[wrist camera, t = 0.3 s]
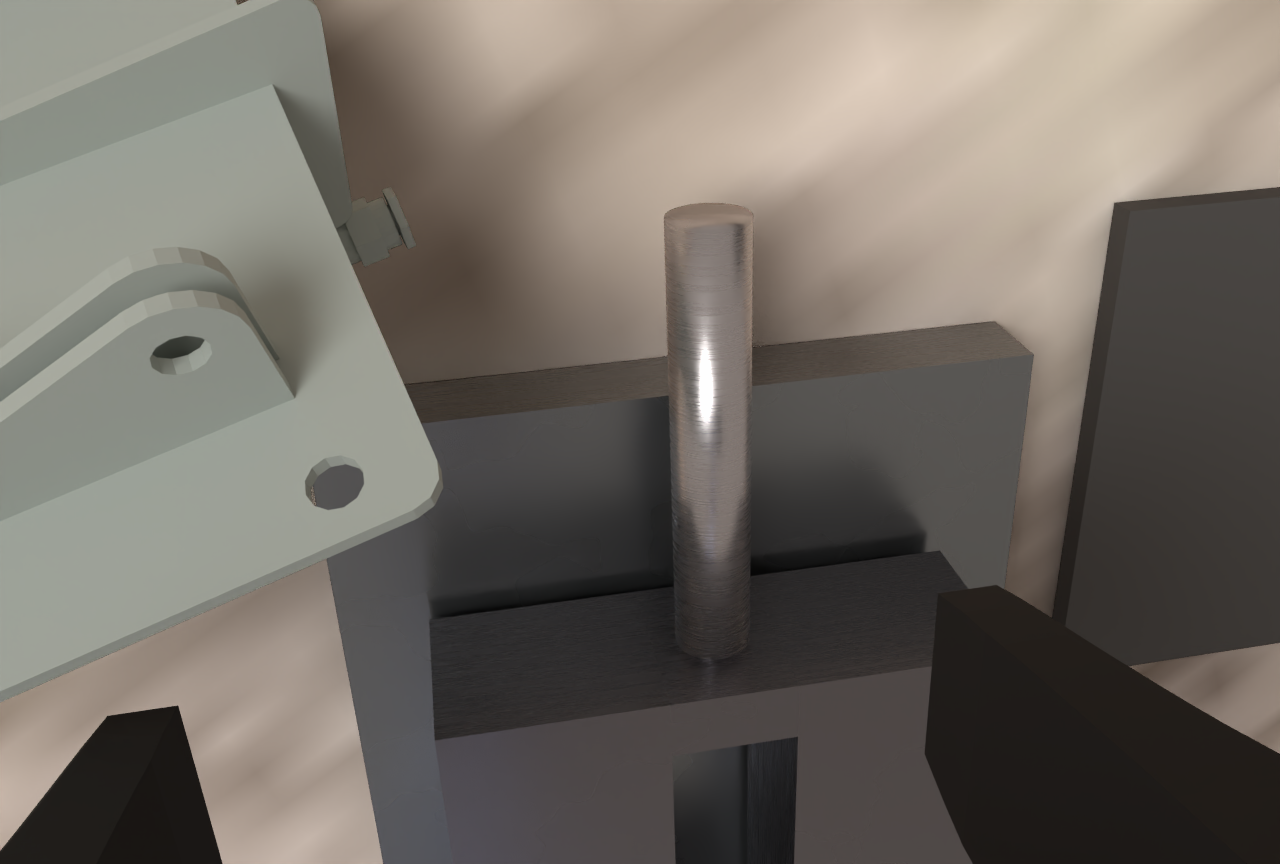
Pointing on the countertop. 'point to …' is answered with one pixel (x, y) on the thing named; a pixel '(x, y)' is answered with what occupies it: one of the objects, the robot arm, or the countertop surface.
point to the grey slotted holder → (700, 655)
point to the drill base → (664, 523)
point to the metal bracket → (180, 322)
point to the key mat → (1180, 435)
